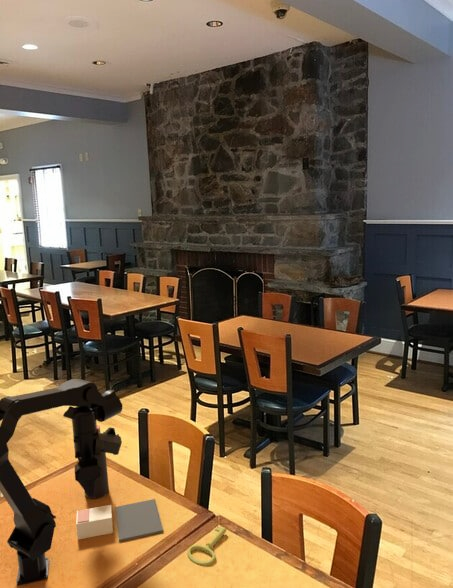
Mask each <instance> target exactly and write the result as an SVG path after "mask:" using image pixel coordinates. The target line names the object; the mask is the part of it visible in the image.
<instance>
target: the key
mask: <svg viewBox="0 0 453 588" xmlns="http://www.w3.org/2000/svg"><path fill="white" fill-rule="evenodd" d="M214 531H216V532H217V534H216V535H215V536H213V538H212V539H211V540H210V541H209V542H206V543H205V545H202V544H193V545H191V546H190V547H188V549H187V553H186V555H187V558H188V559H189V561H190V562H192V563H193V564H196V565H199V566H203V567H204V566H206V567H207V566H211V565H212V564H214V563H215V562H216V554H215V552H214V551H213V549H214V546H215V544H217V543H218V541H219V540H220V539H221V538H222V537H223V536H224V534H226V532H227V529H226V527H221V526H216V527H215V529H214ZM193 551H202V552H204V553H207V554H208V555H209V556H211V559H209V560H199V559H197V558H195V557H194V556H193V555H192V552H193Z"/></svg>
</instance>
